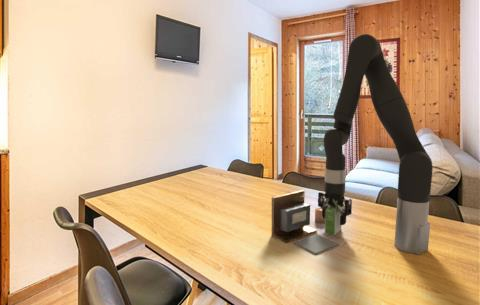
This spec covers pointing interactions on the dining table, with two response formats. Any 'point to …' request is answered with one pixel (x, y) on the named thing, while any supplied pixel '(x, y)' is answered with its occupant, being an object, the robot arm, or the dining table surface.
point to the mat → (316, 244)
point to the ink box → (332, 220)
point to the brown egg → (319, 216)
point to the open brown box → (290, 217)
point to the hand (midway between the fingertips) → (333, 221)
